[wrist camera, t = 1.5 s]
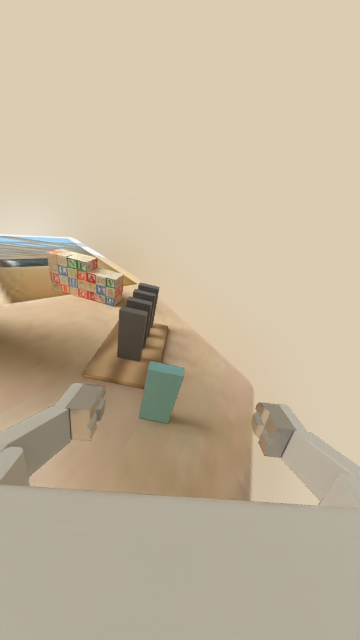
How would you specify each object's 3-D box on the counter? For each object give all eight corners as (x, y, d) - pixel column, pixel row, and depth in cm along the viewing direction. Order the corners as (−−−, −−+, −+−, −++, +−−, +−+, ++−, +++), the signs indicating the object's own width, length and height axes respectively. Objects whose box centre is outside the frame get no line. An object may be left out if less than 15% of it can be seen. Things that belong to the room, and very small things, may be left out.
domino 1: (134, 324, 51) (138, 284, 45) (135, 321, 52) (140, 282, 46) (151, 328, 51) (158, 289, 45) (152, 325, 53) (159, 287, 46)
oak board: (82, 376, 35) (82, 372, 34) (121, 318, 54) (121, 315, 53) (154, 390, 36) (154, 387, 35) (167, 328, 54) (168, 326, 54)
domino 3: (123, 344, 43) (127, 299, 37) (125, 340, 45) (129, 296, 38) (144, 348, 43) (151, 305, 37) (145, 344, 45) (152, 302, 39)
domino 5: (138, 418, 30) (147, 369, 24) (141, 409, 32) (150, 360, 26) (167, 423, 31) (183, 376, 25) (168, 414, 32) (184, 368, 26)
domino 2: (129, 333, 47) (133, 291, 41) (131, 329, 48) (135, 289, 42) (148, 337, 47) (155, 296, 41) (149, 333, 49) (156, 293, 43)
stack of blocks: (122, 299, 64) (124, 265, 57) (114, 307, 58) (115, 270, 52) (65, 283, 64) (61, 247, 58) (52, 289, 59) (45, 251, 53)
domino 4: (116, 357, 39) (119, 310, 33) (119, 352, 41) (122, 306, 35) (139, 361, 40) (146, 315, 33) (141, 356, 41) (148, 311, 35)
